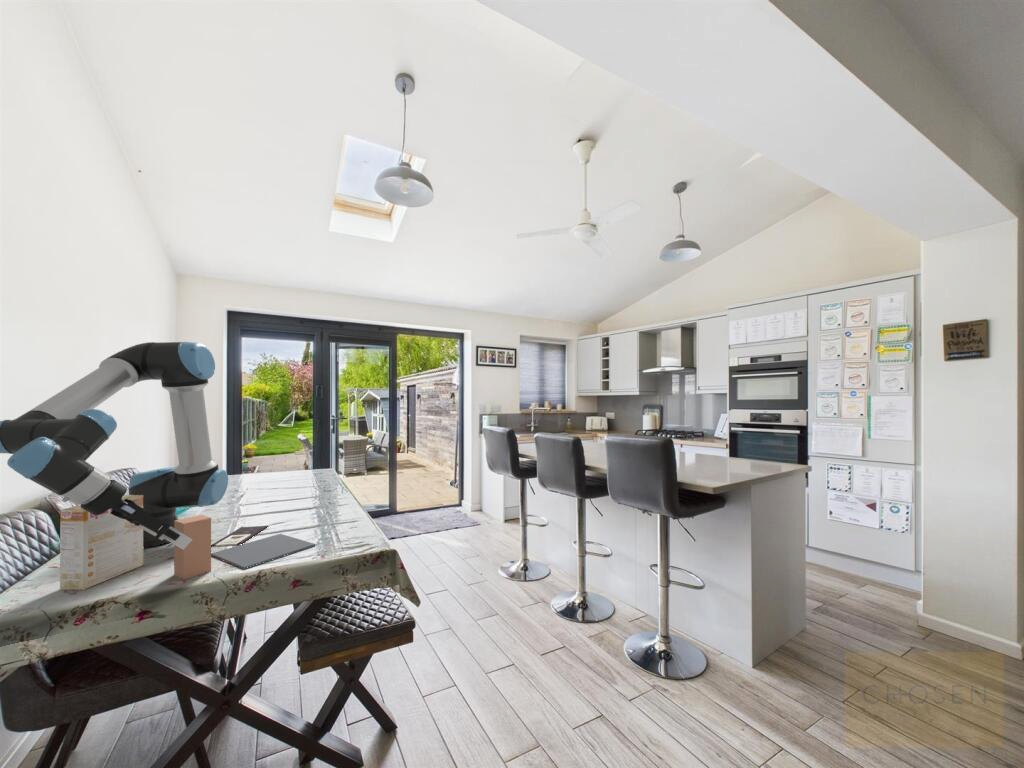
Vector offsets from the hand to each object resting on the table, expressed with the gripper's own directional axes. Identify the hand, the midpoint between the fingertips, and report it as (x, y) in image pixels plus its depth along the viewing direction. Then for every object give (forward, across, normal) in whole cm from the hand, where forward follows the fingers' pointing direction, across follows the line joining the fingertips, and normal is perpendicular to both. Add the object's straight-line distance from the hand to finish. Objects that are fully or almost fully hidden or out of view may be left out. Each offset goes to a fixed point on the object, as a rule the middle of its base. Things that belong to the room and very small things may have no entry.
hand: (176, 539), depth 105 cm
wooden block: (+10, -1, -4) cm, 11 cm away
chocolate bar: (+25, -22, +10) cm, 35 cm away
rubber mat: (+22, -1, +8) cm, 24 cm away
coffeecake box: (0, -19, -14) cm, 23 cm away
